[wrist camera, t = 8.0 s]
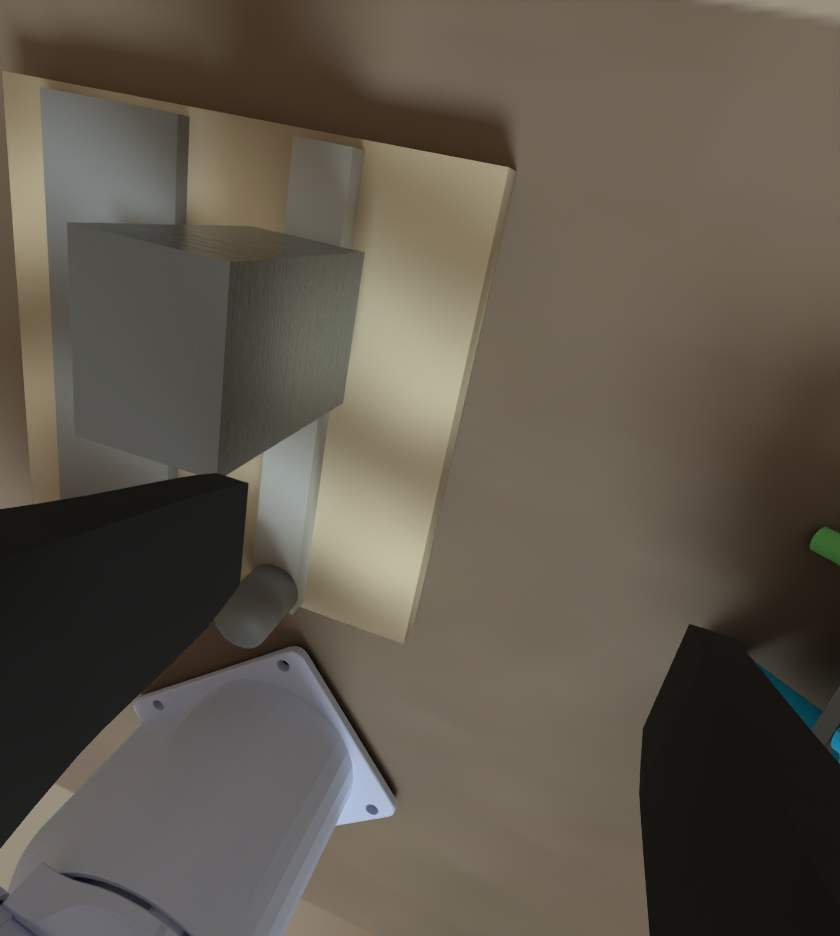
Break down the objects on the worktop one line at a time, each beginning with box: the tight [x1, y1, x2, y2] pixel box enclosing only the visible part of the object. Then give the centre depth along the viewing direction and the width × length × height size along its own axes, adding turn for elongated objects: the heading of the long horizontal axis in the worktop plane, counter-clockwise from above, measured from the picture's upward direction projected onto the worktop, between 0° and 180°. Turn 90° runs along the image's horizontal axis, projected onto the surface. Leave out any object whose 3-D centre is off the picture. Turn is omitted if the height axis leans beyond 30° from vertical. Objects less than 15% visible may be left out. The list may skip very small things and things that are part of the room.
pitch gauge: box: [2, 71, 516, 648], centre depth 19 cm, size 14×15×4 cm
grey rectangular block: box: [67, 222, 365, 476], centre depth 14 cm, size 4×7×6 cm, turn 79°
